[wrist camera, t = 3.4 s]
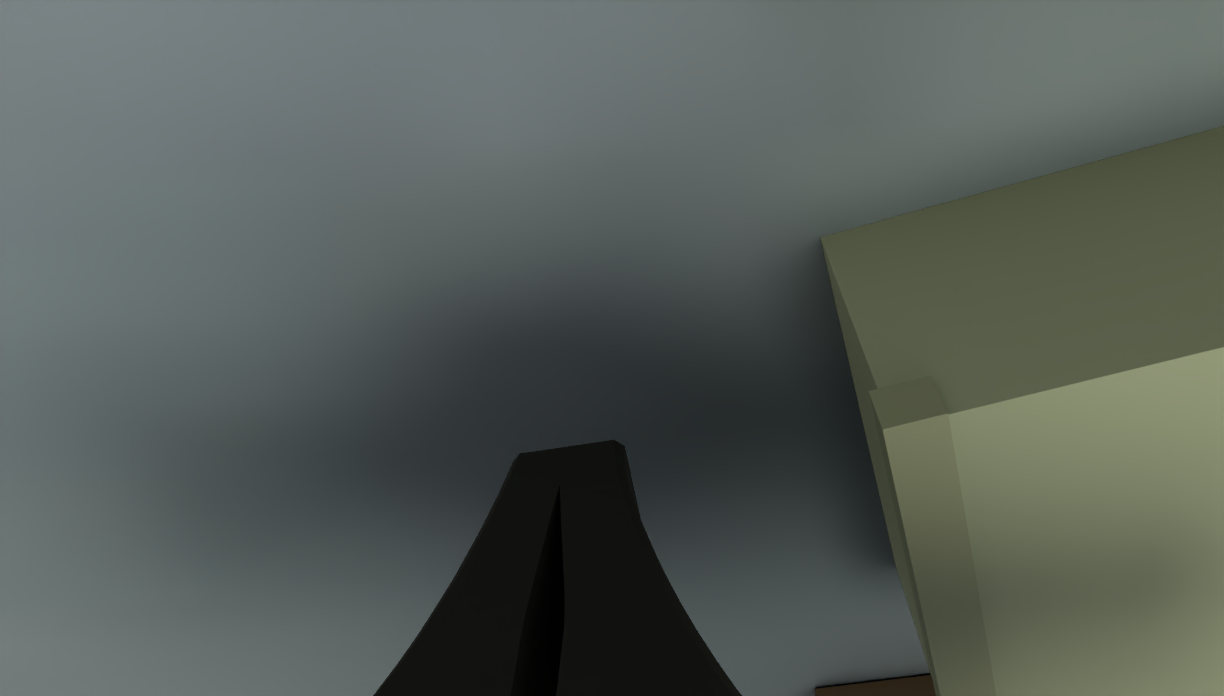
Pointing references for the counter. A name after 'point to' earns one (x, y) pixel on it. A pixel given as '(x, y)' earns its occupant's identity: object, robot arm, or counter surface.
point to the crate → (1052, 422)
